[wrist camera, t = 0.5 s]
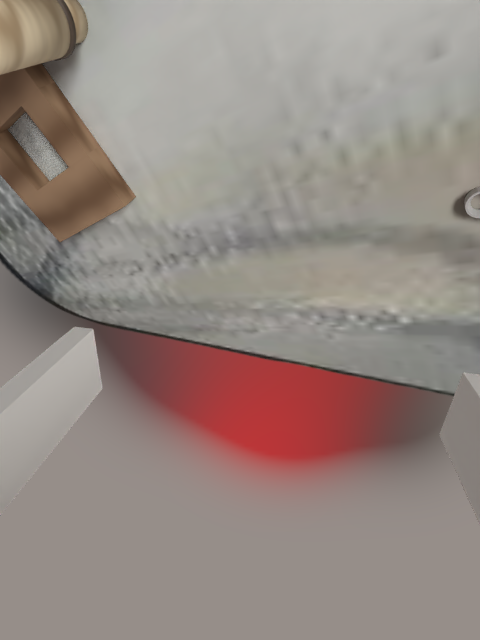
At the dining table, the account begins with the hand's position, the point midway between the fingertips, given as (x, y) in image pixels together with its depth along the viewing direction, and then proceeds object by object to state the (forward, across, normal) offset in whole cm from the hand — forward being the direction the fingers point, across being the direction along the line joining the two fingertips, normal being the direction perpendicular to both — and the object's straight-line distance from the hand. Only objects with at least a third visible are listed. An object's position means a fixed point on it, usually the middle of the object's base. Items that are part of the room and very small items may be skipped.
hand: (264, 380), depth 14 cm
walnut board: (+34, -30, +6) cm, 45 cm away
